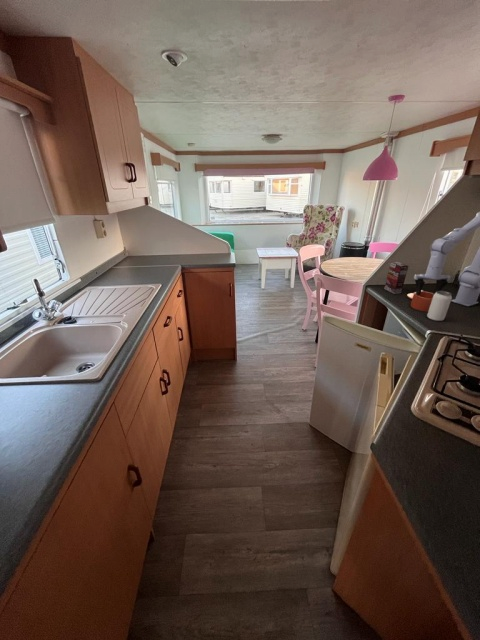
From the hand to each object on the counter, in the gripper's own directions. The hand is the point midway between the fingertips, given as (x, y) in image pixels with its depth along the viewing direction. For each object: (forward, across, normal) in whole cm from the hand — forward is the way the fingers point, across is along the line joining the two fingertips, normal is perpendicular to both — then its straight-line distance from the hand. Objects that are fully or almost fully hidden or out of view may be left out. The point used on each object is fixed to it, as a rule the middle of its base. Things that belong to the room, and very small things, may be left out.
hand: (426, 294), depth 127 cm
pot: (+7, 0, 0) cm, 7 cm away
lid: (+6, -4, -12) cm, 14 cm away
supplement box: (+7, +6, -23) cm, 24 cm away
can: (+7, 0, +12) cm, 14 cm away
